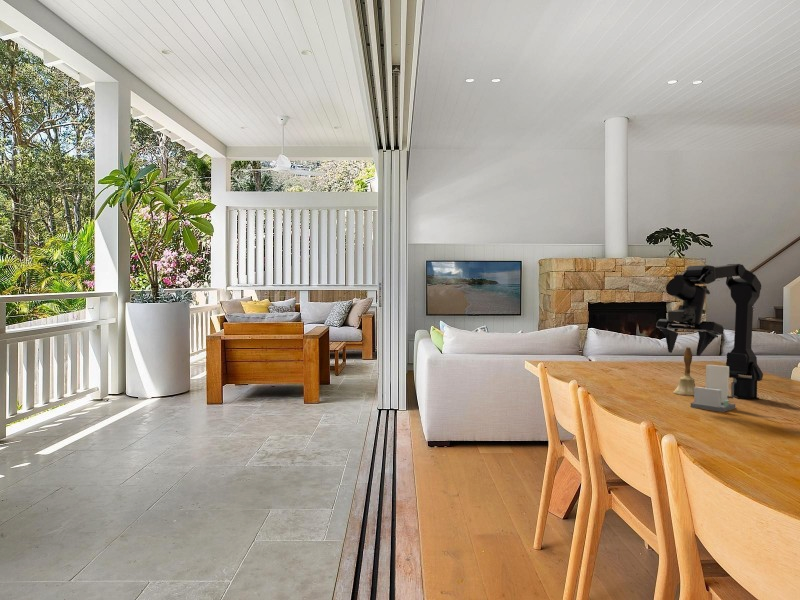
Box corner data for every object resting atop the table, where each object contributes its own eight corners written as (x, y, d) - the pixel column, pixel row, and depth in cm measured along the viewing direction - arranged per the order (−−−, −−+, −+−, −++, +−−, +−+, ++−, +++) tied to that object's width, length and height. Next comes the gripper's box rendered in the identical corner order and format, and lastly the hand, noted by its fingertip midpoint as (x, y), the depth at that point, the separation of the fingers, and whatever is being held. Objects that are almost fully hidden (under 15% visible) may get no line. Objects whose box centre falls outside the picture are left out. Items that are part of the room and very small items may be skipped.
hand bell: (694, 391, 195) (694, 346, 195) (704, 396, 187) (705, 349, 187) (669, 391, 196) (670, 346, 196) (678, 395, 188) (679, 348, 188)
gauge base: (703, 403, 175) (704, 383, 175) (735, 407, 168) (735, 387, 168) (690, 407, 169) (690, 386, 169) (722, 412, 162) (723, 390, 162)
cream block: (702, 398, 174) (703, 363, 174) (733, 403, 168) (734, 367, 167) (700, 399, 173) (701, 364, 173) (731, 403, 167) (732, 367, 166)
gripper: (650, 297, 176) (640, 345, 174) (706, 298, 159) (696, 351, 157) (671, 306, 181) (662, 353, 179) (728, 308, 164) (719, 359, 163)
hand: (683, 354), depth 169 cm, fingers open, 9 cm apart
